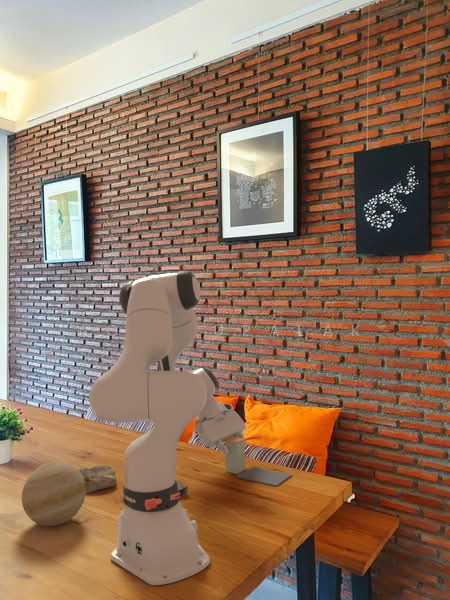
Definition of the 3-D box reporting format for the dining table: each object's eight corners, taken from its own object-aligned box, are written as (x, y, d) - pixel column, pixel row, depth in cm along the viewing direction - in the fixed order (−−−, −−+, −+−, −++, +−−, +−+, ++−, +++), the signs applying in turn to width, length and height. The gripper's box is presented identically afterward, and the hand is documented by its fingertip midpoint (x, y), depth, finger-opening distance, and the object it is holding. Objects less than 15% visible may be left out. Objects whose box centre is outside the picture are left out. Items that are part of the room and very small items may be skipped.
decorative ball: (60, 542, 110) (59, 476, 110) (8, 532, 114) (7, 470, 114) (98, 514, 124) (97, 455, 124) (50, 506, 129) (49, 451, 129)
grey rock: (49, 503, 132) (121, 487, 141) (48, 485, 132) (120, 471, 141) (43, 487, 144) (109, 474, 153) (42, 471, 144) (108, 458, 154)
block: (245, 469, 154) (244, 438, 154) (237, 474, 151) (237, 442, 151) (233, 467, 157) (232, 436, 157) (225, 471, 153) (225, 440, 153)
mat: (291, 476, 148) (291, 474, 148) (276, 486, 140) (276, 485, 140) (253, 467, 156) (253, 466, 156) (236, 477, 148) (236, 476, 148)
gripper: (197, 415, 149) (224, 452, 144) (233, 403, 166) (258, 435, 161) (186, 428, 152) (212, 464, 146) (223, 414, 169) (247, 447, 163)
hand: (236, 449), depth 154 cm, fingers open, 8 cm apart
